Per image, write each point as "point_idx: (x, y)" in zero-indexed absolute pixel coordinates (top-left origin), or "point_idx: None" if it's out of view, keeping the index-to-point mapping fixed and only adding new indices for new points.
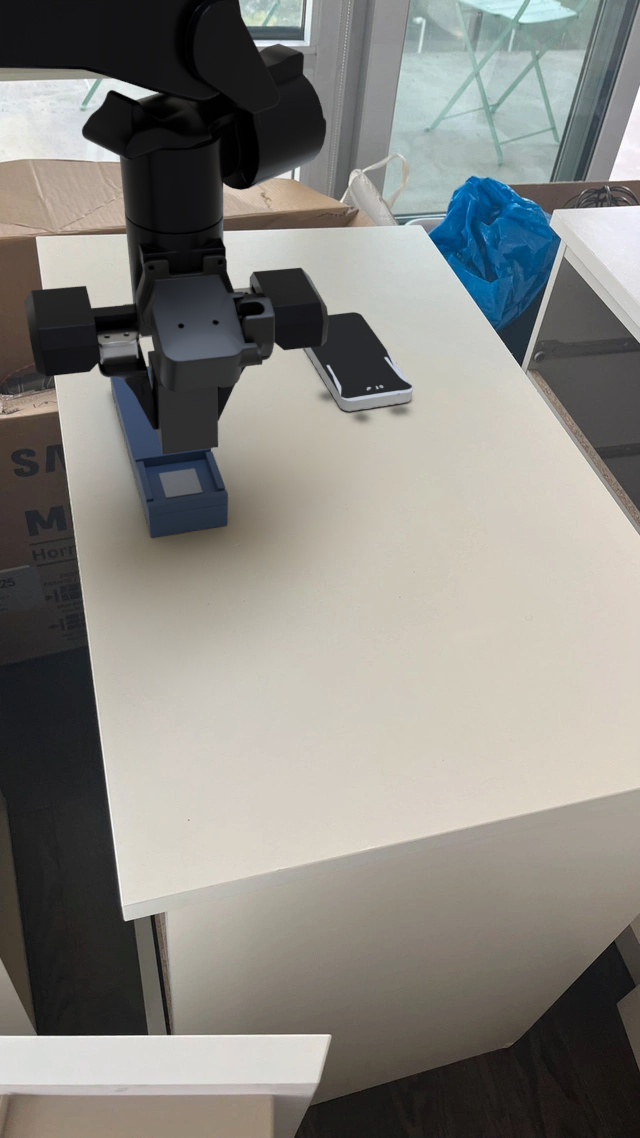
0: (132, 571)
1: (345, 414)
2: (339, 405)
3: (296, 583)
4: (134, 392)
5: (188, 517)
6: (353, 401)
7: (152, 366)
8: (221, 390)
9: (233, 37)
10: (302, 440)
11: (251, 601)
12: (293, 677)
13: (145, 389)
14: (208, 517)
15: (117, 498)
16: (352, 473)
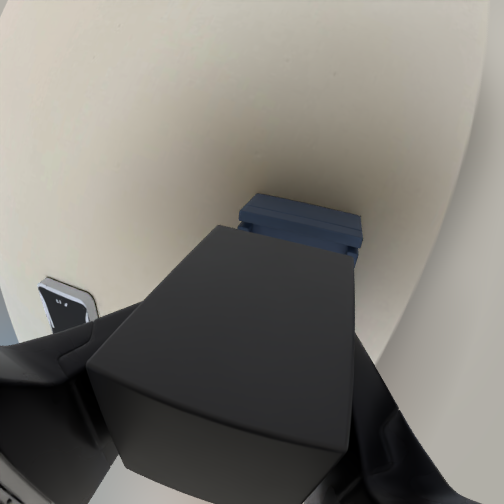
0: (406, 172)
1: (91, 292)
2: (93, 303)
3: (212, 66)
4: (413, 438)
5: (306, 212)
6: (78, 298)
7: (304, 499)
8: None
9: None
10: (133, 281)
11: (278, 56)
12: None
13: (378, 441)
14: (278, 203)
15: (365, 295)
16: (100, 214)
